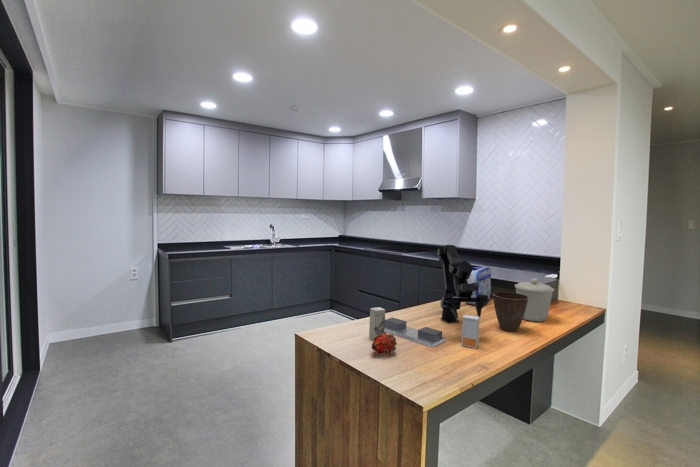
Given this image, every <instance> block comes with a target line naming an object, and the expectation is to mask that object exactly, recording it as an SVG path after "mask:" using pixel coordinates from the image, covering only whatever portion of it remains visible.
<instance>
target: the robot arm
mask: <svg viewBox="0 0 700 467" xmlns="http://www.w3.org/2000/svg"><path fill="white" fill-rule="evenodd" d="M436 255H437V256H436V257H437V258H438V261H439V262H440V264H441V265H442V272H443V280H444V282H443V283H444V288H445V289H444V290H445V291H444V293H443V295H442V298H441V300H440V303H439V304H440V308H441V309H442V312H441V317H440V320H442V321H444V322H446V323H447V324H448V323H456V322H457V323H458V322H459V320H460V319H459V320H458V318H459V316H458V315H459V314H458V310H461V305H462V303H465V302H475V303H476V305H475V310H476V315H477V317H480V318H481V316H482V310H483V308H484V307H486V306H487V304H488V303H489V301H490V299H489V298H488V296H487V295H482V294H478V296H477V298H472V297H471V296H472V295H473V292H474V291H477V290H478V284H477V283H472V284H468V280H467V279H469V277H470V275H471V272H472V270H473V267H474V266H473V265H472V264H471V262H468V260H467V259H466V260H465V259H461V258H460V256H459V254H458V252H457V250H456V245H454V244H445V245H443V246H441V247H439V248H437V251H436Z"/></svg>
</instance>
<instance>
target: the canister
mask: <svg viewBox="0 0 700 467" xmlns="http://www.w3.org/2000/svg"><path fill="white" fill-rule="evenodd" d="M514 288H515V293H518V294H523V295H526V296H528V302H527V306H526V310H525V314H524V317H523V319H522V320H525V321H530V322H544V321H546V320H547V318H548V316H549V313H550V312H549V311H550V307H551V302H552V297H553V292H554V291H555V289H554V288H553V287H551V286H550V285H548V284H544V283H540V282H539V280H538V279H537V278H535V277H533V278H531V279H530V280H529V281H523V282H518V283H517V284H516V283H515V284H514Z"/></svg>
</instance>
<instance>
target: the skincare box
mask: <svg viewBox="0 0 700 467" xmlns="http://www.w3.org/2000/svg"><path fill="white" fill-rule="evenodd" d="M480 319H481V317H478V315H477V316H475V315H471V314H470V315H469V314H463V316H462V329H461V330H462V331H461V346H462V347H467V348H473V349H477V348H478V346H479V338H480V337H479V333H480V331H479V330H480Z"/></svg>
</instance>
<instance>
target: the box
mask: <svg viewBox="0 0 700 467" xmlns="http://www.w3.org/2000/svg"><path fill="white" fill-rule="evenodd" d="M369 311H370V312H369V332H368V338H369V339H371V341H373V339H374V338H375V337H377V336H378V335H379V334H384V329H385V320H386V309H384V308H382V307H370V310H369Z"/></svg>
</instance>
